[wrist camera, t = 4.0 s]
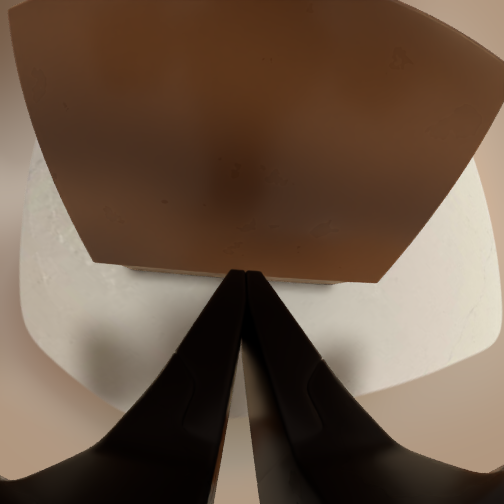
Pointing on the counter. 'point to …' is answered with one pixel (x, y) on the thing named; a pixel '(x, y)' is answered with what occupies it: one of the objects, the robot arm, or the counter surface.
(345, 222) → the lid
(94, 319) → the counter surface
